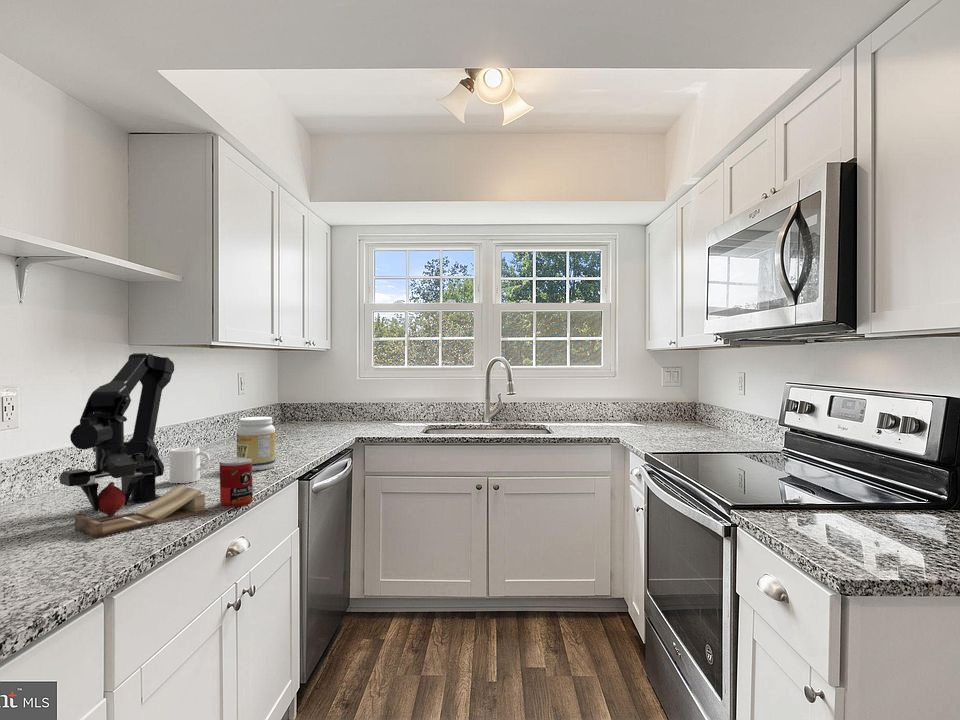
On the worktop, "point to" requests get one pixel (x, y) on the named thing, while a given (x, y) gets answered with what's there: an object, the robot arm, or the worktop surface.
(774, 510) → the worktop surface
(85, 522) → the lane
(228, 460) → the canned food
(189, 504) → the ramp
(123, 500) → the onion
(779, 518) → the worktop surface
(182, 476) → the mug
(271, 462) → the supplement tub
